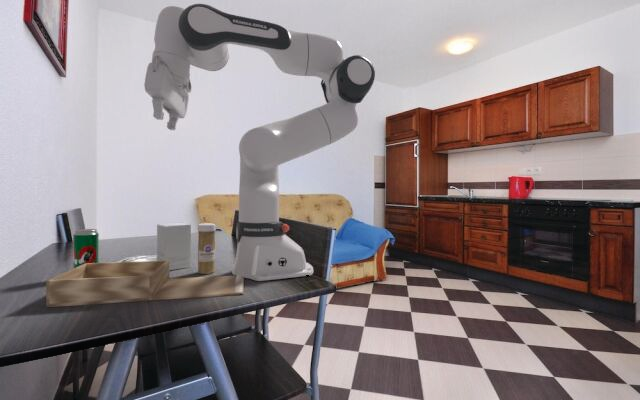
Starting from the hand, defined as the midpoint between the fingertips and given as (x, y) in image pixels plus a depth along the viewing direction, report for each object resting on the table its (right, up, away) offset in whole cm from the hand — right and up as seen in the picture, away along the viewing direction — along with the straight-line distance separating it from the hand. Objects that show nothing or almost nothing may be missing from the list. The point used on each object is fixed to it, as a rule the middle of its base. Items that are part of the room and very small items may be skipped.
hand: (165, 124), depth 76 cm
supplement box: (-3, -39, +11) cm, 41 cm away
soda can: (-20, -39, -1) cm, 44 cm away
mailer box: (+4, -40, -9) cm, 41 cm away
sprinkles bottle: (+9, -40, +5) cm, 41 cm away
